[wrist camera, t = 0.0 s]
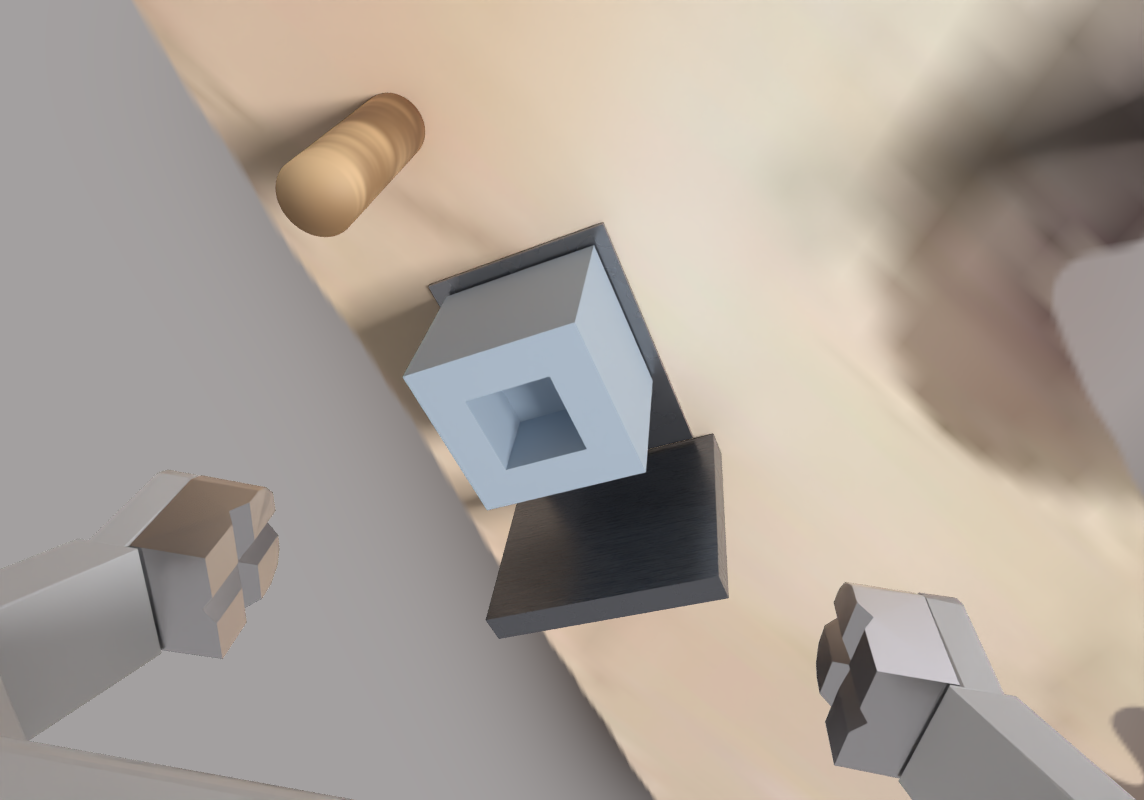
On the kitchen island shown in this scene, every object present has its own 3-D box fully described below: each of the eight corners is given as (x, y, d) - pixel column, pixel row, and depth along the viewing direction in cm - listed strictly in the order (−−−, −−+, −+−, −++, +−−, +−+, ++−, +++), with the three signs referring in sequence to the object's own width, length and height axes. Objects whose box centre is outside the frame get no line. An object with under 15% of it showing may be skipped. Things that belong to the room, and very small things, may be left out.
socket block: (446, 296, 53) (402, 376, 45) (593, 245, 49) (574, 322, 41) (515, 419, 58) (487, 510, 50) (652, 380, 55) (645, 472, 47)
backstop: (411, 291, 54) (336, 408, 42) (625, 214, 48) (605, 324, 37) (532, 499, 64) (498, 638, 52) (721, 453, 58) (728, 597, 47)
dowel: (359, 88, 46) (270, 151, 36) (424, 97, 46) (353, 163, 36) (363, 154, 48) (281, 230, 39) (425, 163, 48) (358, 242, 38)
